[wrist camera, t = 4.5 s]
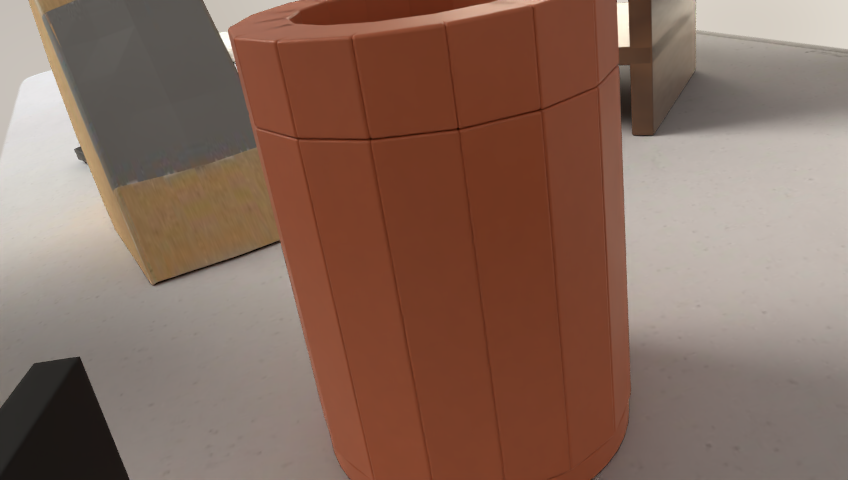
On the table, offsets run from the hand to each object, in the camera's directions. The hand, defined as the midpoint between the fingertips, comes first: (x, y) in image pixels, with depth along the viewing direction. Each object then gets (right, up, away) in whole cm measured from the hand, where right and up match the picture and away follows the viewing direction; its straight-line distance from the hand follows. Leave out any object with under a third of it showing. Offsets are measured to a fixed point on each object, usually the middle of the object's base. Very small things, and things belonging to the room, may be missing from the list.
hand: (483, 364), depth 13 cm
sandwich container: (-13, +3, +29) cm, 32 cm away
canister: (+1, -3, +10) cm, 10 cm away
